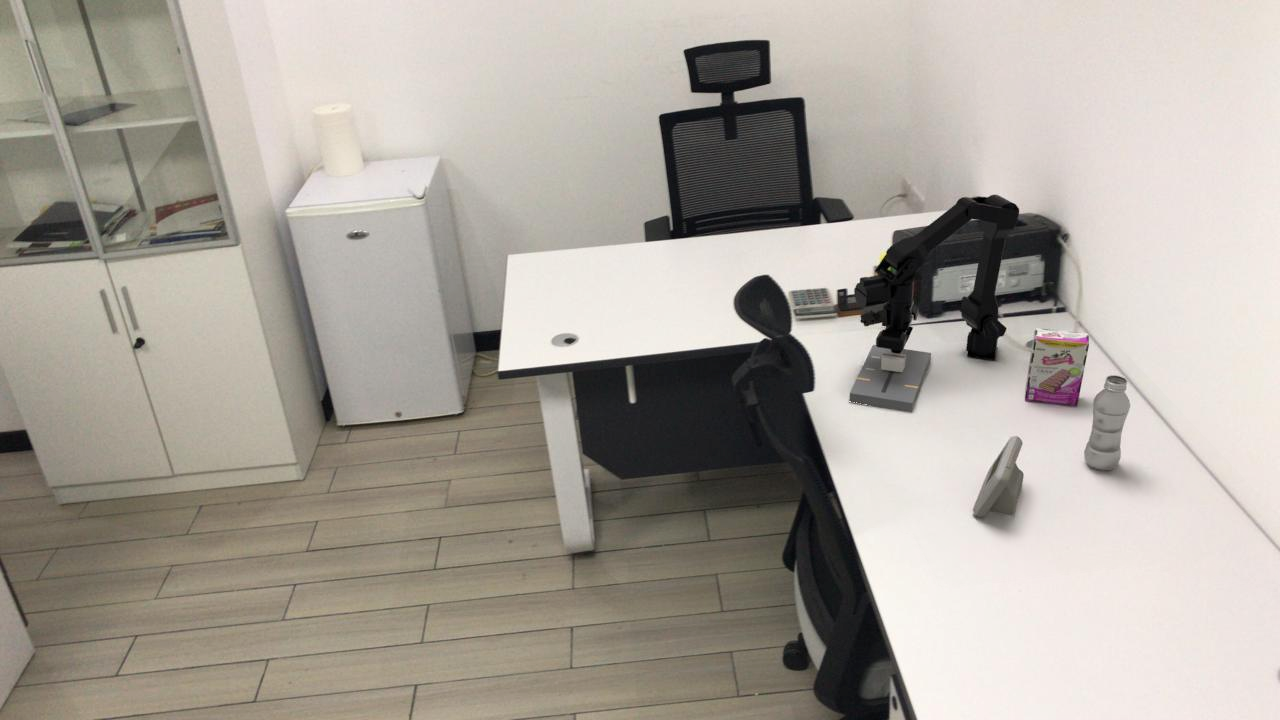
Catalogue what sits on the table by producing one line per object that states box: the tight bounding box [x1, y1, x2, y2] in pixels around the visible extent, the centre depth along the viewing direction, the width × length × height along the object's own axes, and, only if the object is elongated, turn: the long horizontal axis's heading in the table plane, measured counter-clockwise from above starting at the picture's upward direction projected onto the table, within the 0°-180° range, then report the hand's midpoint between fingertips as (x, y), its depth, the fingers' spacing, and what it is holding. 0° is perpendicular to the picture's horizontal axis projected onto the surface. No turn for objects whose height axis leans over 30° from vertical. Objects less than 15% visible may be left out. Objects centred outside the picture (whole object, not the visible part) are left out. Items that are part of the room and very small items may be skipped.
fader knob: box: [881, 352, 906, 373], centre depth 234 cm, size 5×3×3 cm, turn 66°
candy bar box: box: [1024, 327, 1090, 407], centre depth 220 cm, size 11×5×16 cm, turn 71°
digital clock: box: [972, 435, 1024, 518], centre depth 192 cm, size 16×9×11 cm, turn 139°
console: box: [848, 344, 932, 413], centre depth 234 cm, size 14×24×2 cm, turn 156°
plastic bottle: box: [1083, 374, 1131, 471], centre depth 197 cm, size 6×7×20 cm
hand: (895, 357), depth 236 cm, fingers closed
